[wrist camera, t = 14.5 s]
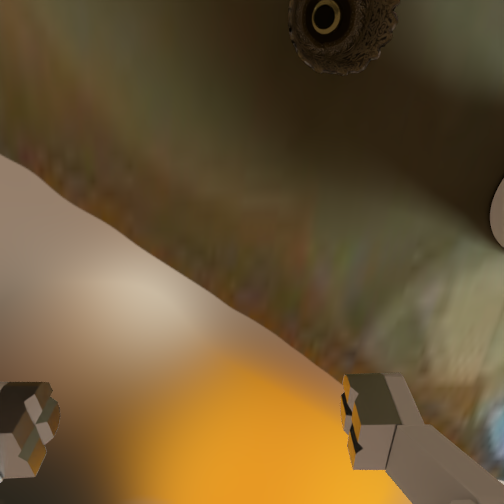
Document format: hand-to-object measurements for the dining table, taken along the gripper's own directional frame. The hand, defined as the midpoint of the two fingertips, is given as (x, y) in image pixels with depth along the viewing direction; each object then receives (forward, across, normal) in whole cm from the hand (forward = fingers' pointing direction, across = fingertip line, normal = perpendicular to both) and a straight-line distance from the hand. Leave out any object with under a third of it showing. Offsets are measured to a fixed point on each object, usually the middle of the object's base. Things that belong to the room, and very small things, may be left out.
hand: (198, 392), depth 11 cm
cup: (+31, -8, -9) cm, 34 cm away
